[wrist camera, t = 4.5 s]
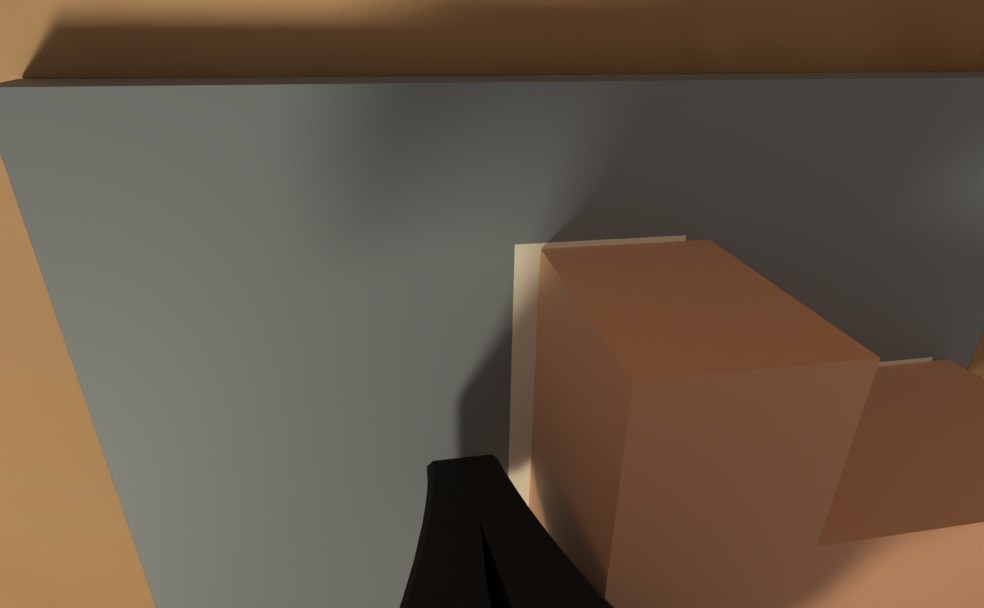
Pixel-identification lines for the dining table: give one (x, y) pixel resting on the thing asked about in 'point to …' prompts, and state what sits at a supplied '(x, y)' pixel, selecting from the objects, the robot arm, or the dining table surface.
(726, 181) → the board
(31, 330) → the dining table surface
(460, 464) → the robot arm
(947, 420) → the t block
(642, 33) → the dining table surface
